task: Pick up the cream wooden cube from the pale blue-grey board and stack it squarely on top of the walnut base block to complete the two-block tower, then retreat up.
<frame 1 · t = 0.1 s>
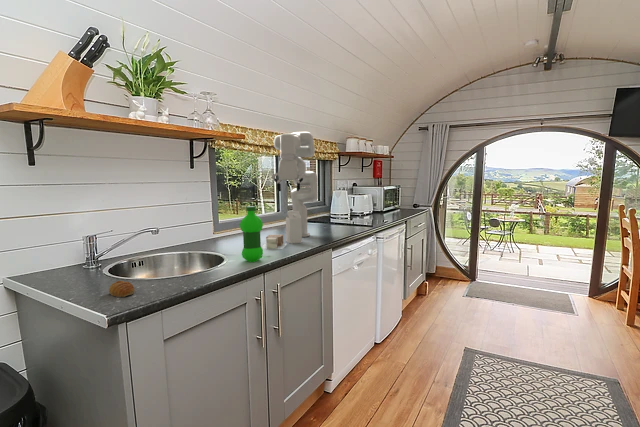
hand: (288, 191, 178), 31 cm above the worktop, tool pointing down, fingers open, 9 cm apart
pastry: (123, 294, 113), on the worktop
cream cube: (272, 247, 182), point 1 cm above the worktop, touching blueprint board
plastic bottle: (252, 260, 157), on the worktop
walnut base block: (275, 246, 190), resting on blueprint board
blueprint board: (273, 247, 186), on the worktop
milk carton: (294, 243, 198), on the worktop
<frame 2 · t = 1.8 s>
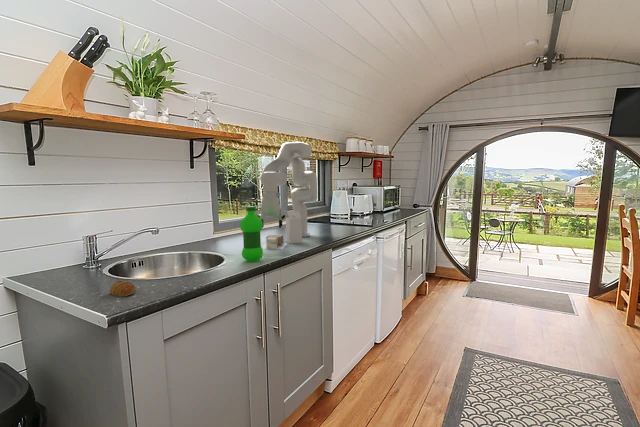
hand: (271, 227, 180), 12 cm above the worktop, tool pointing down, fingers open, 9 cm apart
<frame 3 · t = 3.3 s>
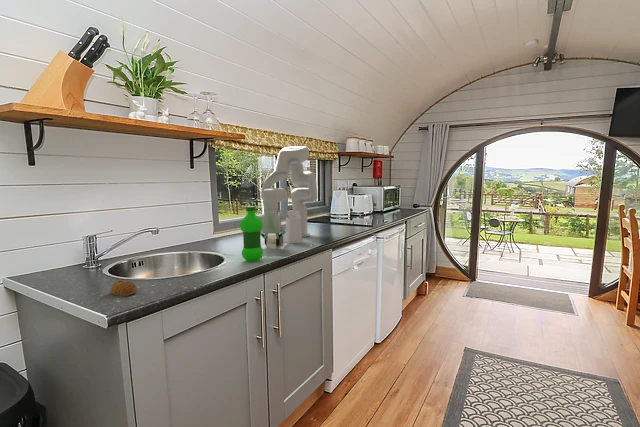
hand: (272, 245, 182), 2 cm above the worktop, tool pointing down, fingers closed on cream cube, 5 cm apart
cream cube: (272, 247, 182), point 1 cm above the worktop, touching blueprint board, gripper
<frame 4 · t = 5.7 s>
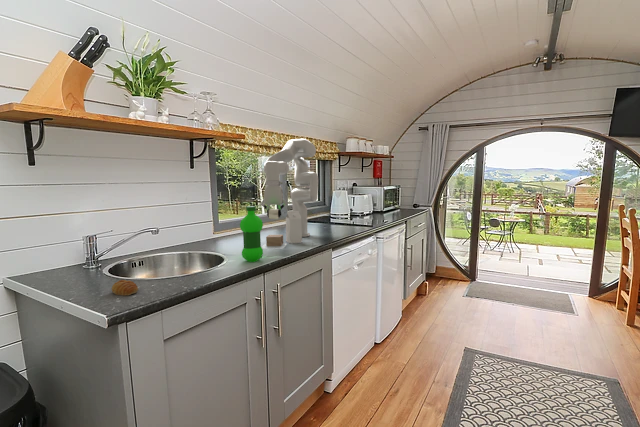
hand: (274, 216, 188), 17 cm above the worktop, tool pointing down, fingers closed on cream cube, 5 cm apart
cream cube: (274, 218, 188), point 16 cm above the worktop, touching gripper
when the fingers open (8 cm above the worktop, at t = 8.2 s): cream cube drops 1 cm, resting on walnut base block.
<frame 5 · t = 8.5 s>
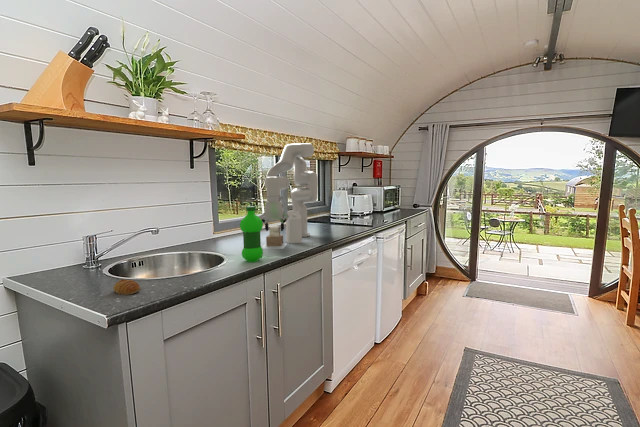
hand: (274, 230, 189), 9 cm above the worktop, tool pointing down, fingers open, 7 cm apart
cream cube: (274, 235, 189), point 6 cm above the worktop, touching walnut base block
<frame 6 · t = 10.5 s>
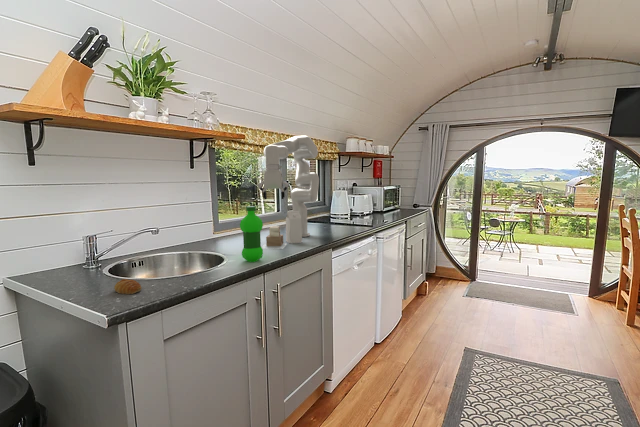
hand: (274, 199, 189), 26 cm above the worktop, tool pointing down, fingers open, 9 cm apart
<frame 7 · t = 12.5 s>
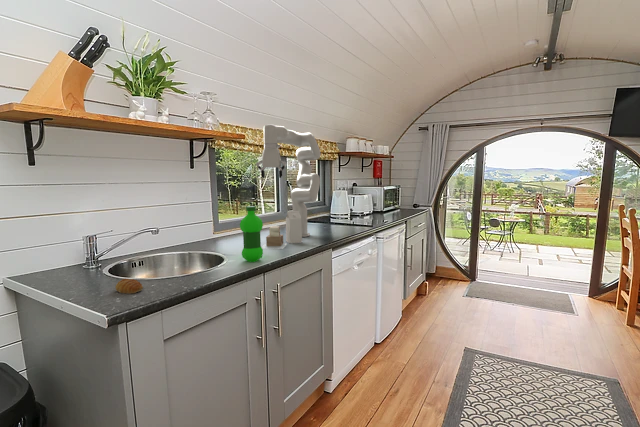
hand: (271, 177, 193), 38 cm above the worktop, tool pointing down, fingers open, 9 cm apart
at the end: cream cube 0.0 cm off-centre on the walnut base block, point 6.0 cm above the walnut base block's base; cream cube tilted 0°; the gripper is holding nothing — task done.
